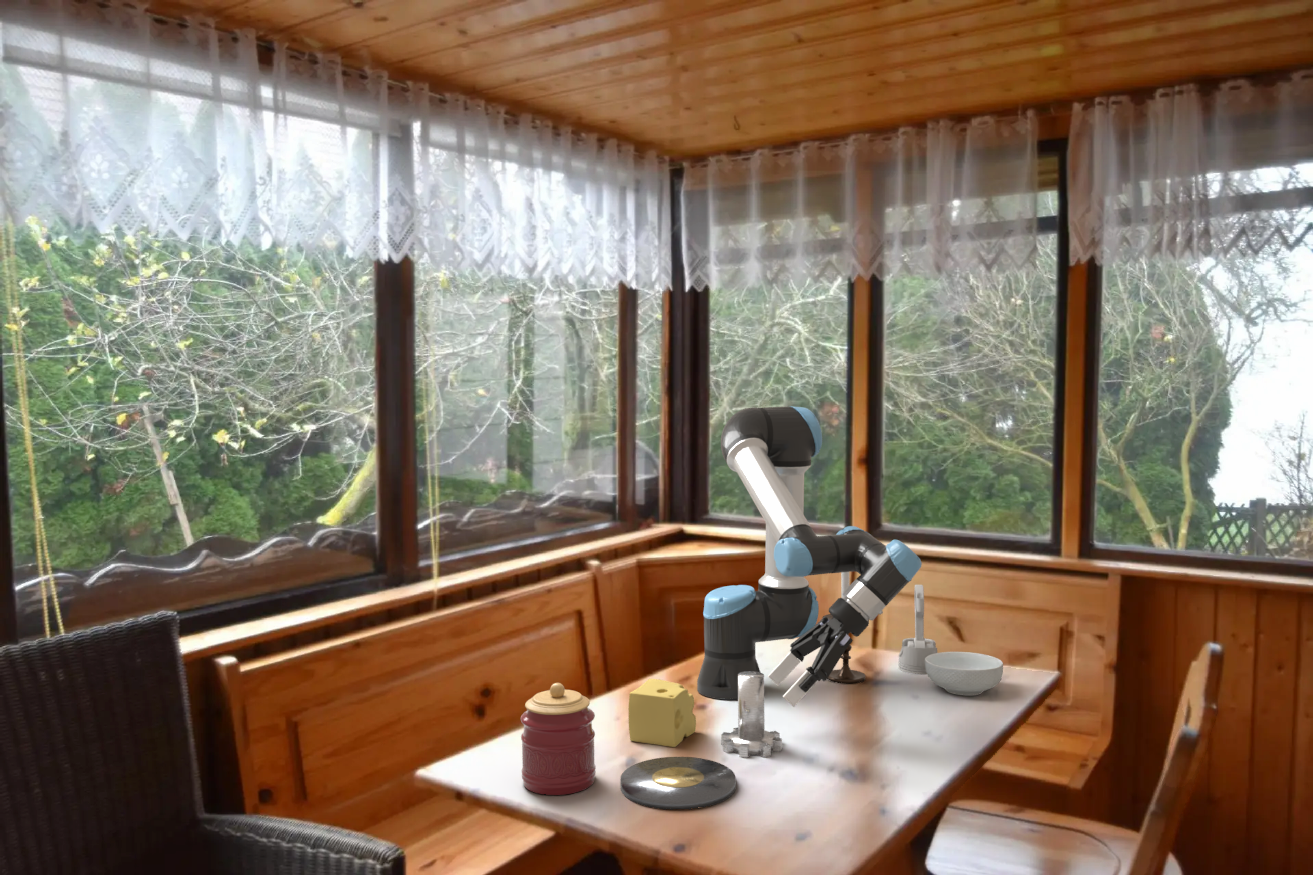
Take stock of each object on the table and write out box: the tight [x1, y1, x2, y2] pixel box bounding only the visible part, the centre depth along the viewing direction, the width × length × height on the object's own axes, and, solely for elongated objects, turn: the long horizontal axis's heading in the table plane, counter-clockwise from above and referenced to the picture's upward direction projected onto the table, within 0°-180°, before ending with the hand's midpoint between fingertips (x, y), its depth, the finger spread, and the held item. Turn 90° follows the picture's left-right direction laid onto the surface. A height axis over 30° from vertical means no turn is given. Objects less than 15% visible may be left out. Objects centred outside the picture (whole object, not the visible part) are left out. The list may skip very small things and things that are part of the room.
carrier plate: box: [619, 756, 737, 811], centre depth 174 cm, size 20×20×2 cm
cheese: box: [628, 678, 697, 748], centre depth 199 cm, size 10×11×10 cm
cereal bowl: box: [925, 651, 1004, 697], centre depth 227 cm, size 17×17×7 cm
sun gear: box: [720, 671, 783, 758], centre depth 192 cm, size 12×12×14 cm
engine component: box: [898, 584, 939, 675], centre depth 245 cm, size 11×20×10 cm
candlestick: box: [821, 572, 870, 685], centre depth 237 cm, size 11×11×35 cm
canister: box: [520, 682, 597, 796], centre depth 176 cm, size 13×13×18 cm
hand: (780, 690), depth 191 cm, fingers open, 13 cm apart
